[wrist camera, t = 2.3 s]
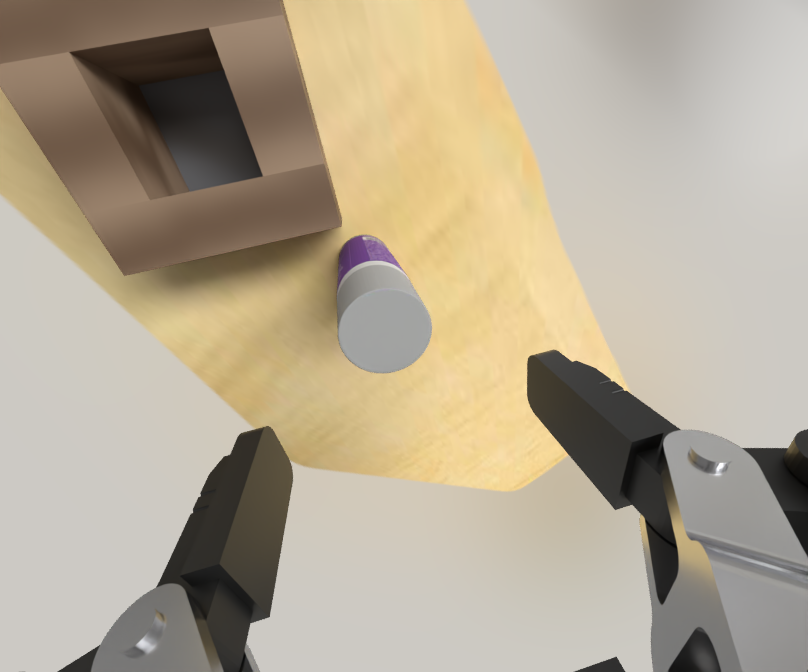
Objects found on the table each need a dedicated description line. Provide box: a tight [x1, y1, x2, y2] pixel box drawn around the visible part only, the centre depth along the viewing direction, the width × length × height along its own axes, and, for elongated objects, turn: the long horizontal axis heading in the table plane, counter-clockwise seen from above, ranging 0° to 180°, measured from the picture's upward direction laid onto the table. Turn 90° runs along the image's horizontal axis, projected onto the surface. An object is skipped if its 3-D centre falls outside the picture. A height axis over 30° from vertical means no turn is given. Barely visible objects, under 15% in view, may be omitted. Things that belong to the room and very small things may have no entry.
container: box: [337, 235, 432, 373], centre depth 21 cm, size 5×5×15 cm
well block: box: [0, 0, 342, 276], centre depth 19 cm, size 14×14×6 cm
